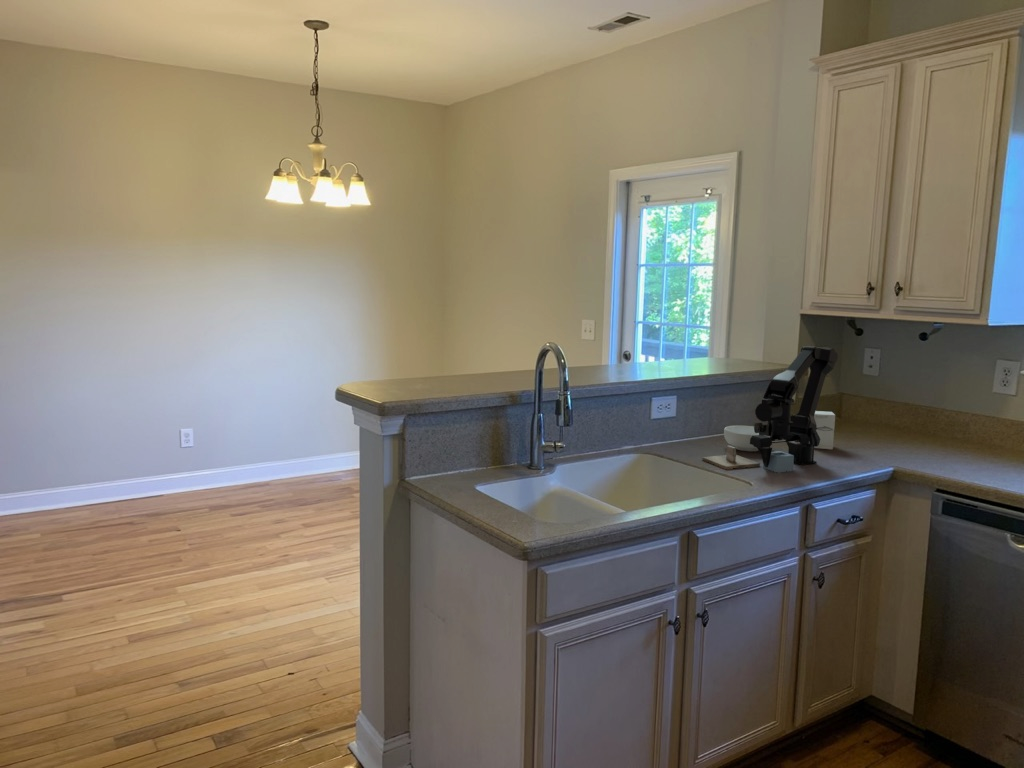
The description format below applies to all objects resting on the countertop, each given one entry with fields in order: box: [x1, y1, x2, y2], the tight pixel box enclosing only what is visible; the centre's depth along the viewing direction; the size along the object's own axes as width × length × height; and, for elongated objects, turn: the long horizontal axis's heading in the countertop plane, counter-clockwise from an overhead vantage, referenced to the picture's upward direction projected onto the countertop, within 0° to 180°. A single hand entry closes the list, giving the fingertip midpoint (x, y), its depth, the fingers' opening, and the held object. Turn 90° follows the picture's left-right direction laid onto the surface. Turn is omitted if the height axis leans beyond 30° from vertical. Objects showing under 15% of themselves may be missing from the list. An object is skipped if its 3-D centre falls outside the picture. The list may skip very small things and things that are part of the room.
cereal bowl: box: [723, 425, 770, 452], centre depth 268 cm, size 17×17×7 cm
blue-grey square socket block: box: [762, 450, 795, 473], centre depth 240 cm, size 6×6×5 cm
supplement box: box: [814, 410, 836, 450], centre depth 271 cm, size 7×7×13 cm
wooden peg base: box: [701, 445, 761, 470], centre depth 247 cm, size 13×13×6 cm
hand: (778, 466), depth 240 cm, fingers open, 9 cm apart
